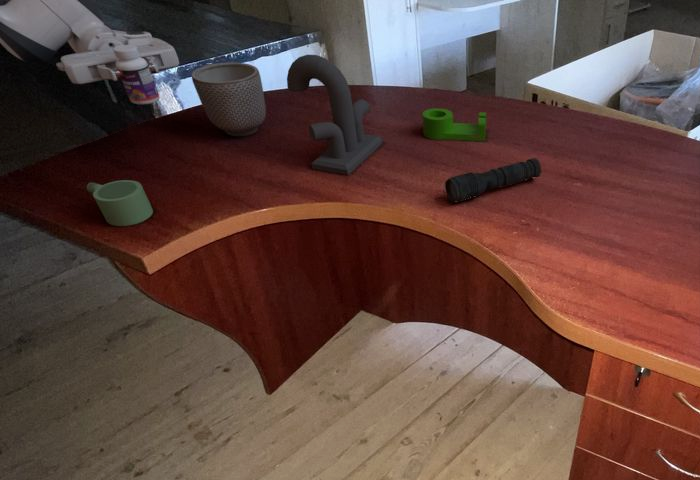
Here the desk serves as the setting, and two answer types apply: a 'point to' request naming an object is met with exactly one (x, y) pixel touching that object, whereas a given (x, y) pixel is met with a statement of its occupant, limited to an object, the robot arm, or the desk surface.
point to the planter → (231, 96)
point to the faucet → (335, 116)
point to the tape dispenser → (451, 126)
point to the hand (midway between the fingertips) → (136, 72)
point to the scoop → (122, 202)
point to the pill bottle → (135, 75)
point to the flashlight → (490, 180)
